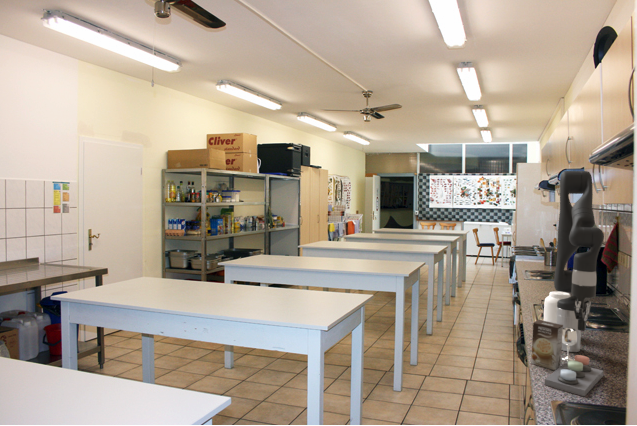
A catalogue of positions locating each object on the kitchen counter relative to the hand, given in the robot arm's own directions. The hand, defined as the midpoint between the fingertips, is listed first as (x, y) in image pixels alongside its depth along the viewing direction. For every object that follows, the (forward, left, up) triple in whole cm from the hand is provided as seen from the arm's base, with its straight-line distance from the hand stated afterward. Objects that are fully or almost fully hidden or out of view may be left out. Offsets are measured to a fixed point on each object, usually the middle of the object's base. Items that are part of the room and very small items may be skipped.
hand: (581, 330), depth 162 cm
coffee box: (-1, -12, -17) cm, 20 cm away
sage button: (+7, 0, -12) cm, 14 cm away
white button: (+15, 0, -13) cm, 20 cm away
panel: (+7, 0, -16) cm, 18 cm away
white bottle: (-46, -21, -17) cm, 53 cm away
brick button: (-1, 0, -12) cm, 12 cm away
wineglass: (-14, -8, -16) cm, 23 cm away
